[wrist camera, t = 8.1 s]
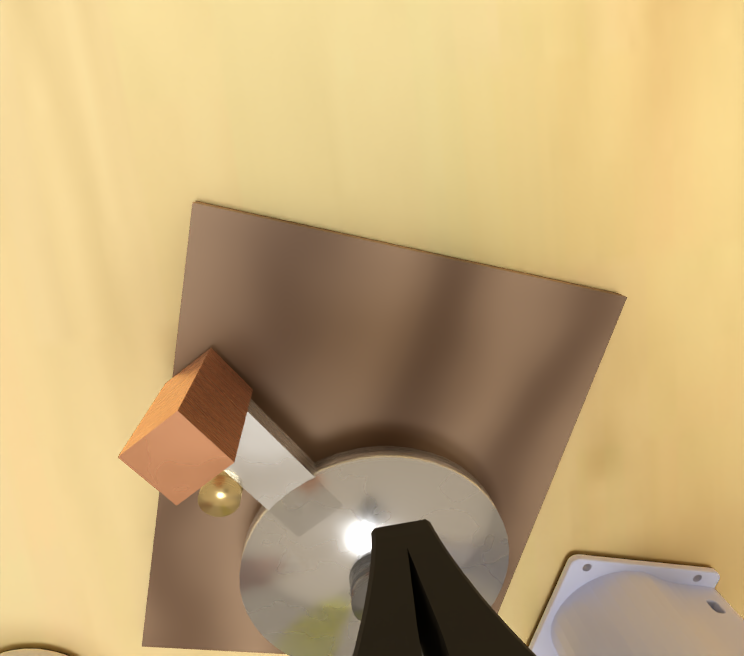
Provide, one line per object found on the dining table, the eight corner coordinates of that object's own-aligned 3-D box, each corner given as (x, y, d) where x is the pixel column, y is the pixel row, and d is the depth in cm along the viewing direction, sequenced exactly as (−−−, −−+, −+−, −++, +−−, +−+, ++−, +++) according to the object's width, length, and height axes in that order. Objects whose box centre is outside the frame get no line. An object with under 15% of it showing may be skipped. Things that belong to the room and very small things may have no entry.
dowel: (251, 447, 21) (243, 485, 18) (245, 477, 21) (237, 519, 19) (213, 442, 21) (200, 480, 18) (208, 473, 21) (195, 514, 19)
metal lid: (538, 548, 24) (592, 641, 20) (351, 670, 26) (360, 785, 21) (306, 272, 18) (304, 312, 14) (78, 452, 20) (4, 544, 15)
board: (618, 293, 21) (640, 303, 20) (473, 654, 28) (482, 680, 26) (196, 201, 18) (186, 205, 16) (145, 635, 24) (135, 664, 23)
